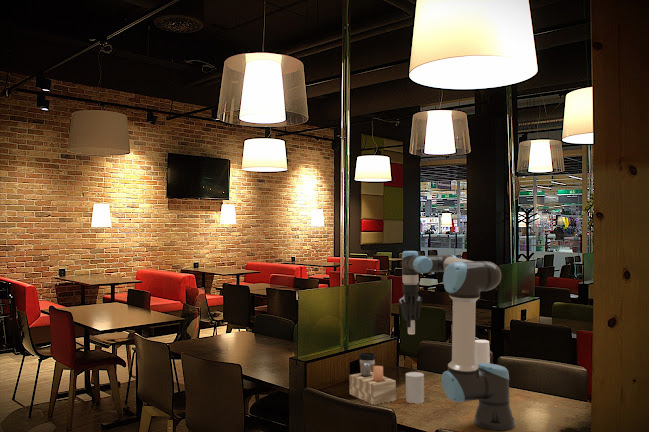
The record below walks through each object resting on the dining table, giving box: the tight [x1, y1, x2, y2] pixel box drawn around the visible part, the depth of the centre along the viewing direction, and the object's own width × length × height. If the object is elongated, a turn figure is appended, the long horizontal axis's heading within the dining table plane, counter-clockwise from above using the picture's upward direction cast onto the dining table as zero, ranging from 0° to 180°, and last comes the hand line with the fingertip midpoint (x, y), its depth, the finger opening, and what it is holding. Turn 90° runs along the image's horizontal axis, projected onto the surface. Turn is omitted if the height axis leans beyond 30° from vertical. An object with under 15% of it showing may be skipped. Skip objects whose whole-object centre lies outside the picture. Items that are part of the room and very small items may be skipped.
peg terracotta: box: [373, 365, 384, 382], centre depth 252 cm, size 4×4×9 cm
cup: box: [405, 371, 425, 405], centre depth 250 cm, size 8×8×12 cm
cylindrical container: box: [475, 339, 491, 366], centre depth 258 cm, size 7×7×25 cm
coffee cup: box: [358, 352, 376, 372], centre depth 280 cm, size 8×8×15 cm
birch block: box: [348, 372, 397, 406], centre depth 256 cm, size 20×12×9 cm, turn 31°
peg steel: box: [360, 362, 371, 377], centre depth 261 cm, size 4×4×9 cm
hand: (411, 333), depth 260 cm, fingers closed
